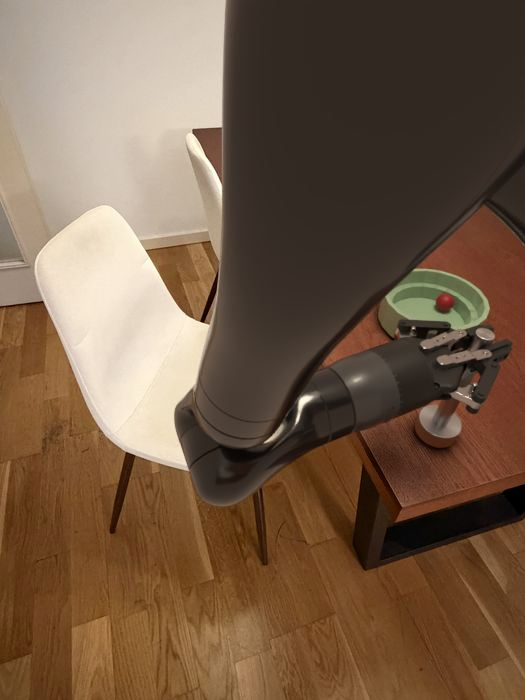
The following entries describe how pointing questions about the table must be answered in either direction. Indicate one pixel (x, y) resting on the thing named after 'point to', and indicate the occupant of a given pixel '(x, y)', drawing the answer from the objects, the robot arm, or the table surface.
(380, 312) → the bowl
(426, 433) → the metal tamper
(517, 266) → the table surface
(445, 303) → the berry
